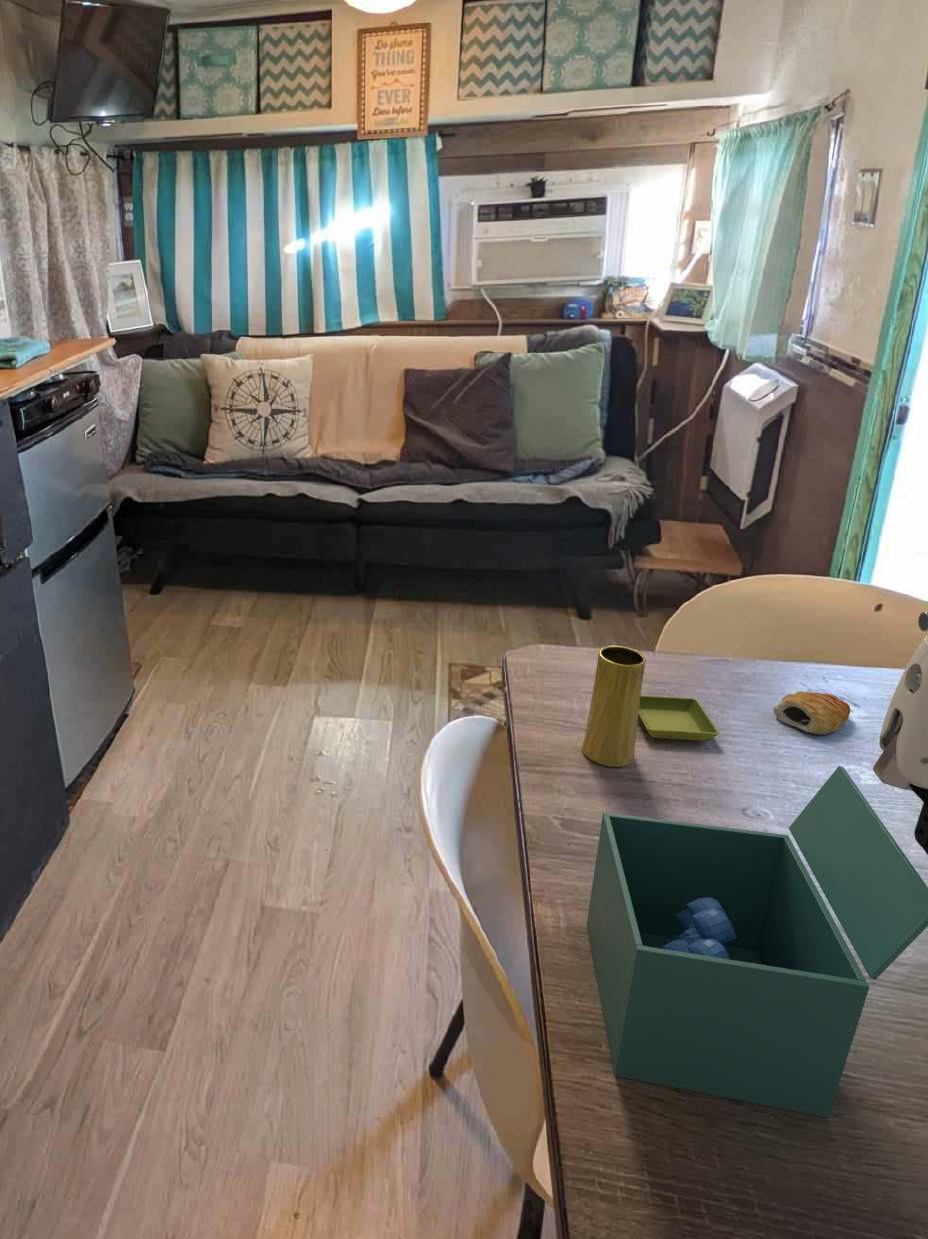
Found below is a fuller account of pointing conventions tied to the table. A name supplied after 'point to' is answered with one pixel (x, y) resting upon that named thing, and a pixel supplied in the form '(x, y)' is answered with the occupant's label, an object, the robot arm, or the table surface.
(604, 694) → the vase
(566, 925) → the table surface
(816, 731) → the pastry
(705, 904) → the grapes
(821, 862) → the flap
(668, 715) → the olive green shallow tray
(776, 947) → the carton
